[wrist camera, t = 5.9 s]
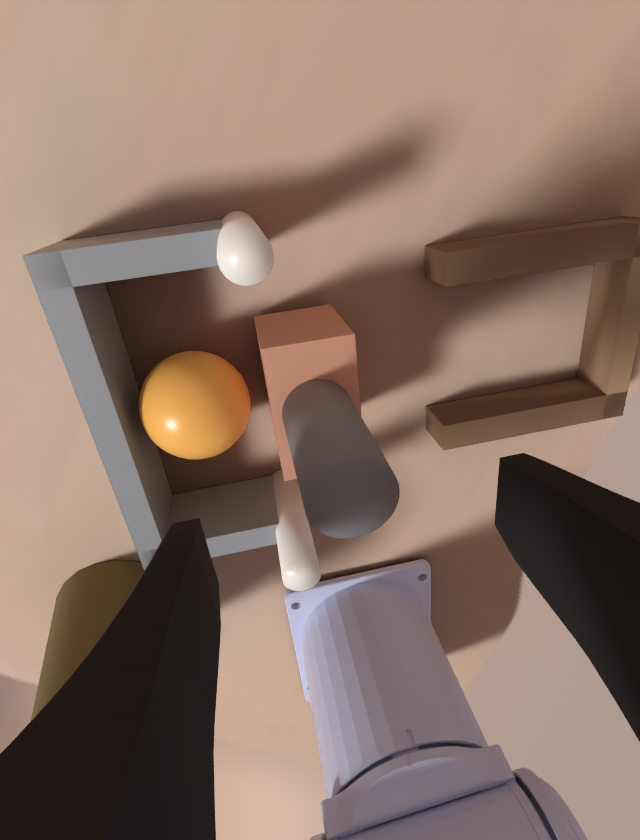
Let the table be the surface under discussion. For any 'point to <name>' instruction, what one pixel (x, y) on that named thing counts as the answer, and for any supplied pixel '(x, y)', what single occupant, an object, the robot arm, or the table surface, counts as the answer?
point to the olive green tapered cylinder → (82, 620)
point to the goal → (119, 394)
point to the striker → (324, 421)
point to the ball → (194, 405)
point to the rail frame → (603, 336)
